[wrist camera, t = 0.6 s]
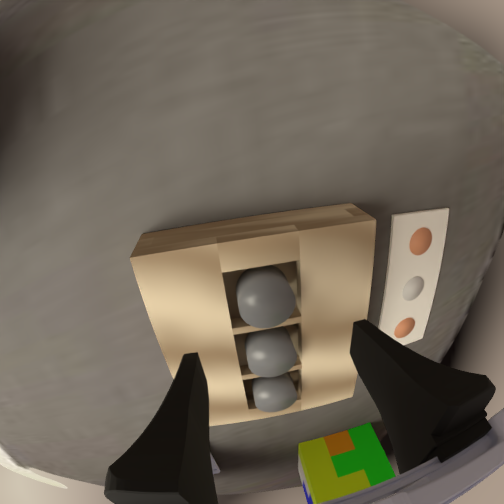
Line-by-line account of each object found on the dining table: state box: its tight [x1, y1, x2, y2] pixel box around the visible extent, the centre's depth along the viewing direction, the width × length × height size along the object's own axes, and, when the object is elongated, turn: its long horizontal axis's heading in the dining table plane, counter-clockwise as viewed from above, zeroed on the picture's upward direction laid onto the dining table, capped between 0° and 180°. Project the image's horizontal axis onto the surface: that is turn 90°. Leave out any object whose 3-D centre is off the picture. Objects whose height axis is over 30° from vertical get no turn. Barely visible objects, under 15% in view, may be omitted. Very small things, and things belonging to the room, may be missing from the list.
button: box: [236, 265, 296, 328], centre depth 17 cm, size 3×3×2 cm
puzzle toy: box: [298, 423, 396, 504], centre depth 30 cm, size 10×10×10 cm
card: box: [378, 208, 449, 345], centre depth 24 cm, size 14×6×1 cm, turn 6°
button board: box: [130, 203, 376, 426], centre depth 21 cm, size 16×14×4 cm
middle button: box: [244, 326, 297, 377], centre depth 19 cm, size 3×3×2 cm
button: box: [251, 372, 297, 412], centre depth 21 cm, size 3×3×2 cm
